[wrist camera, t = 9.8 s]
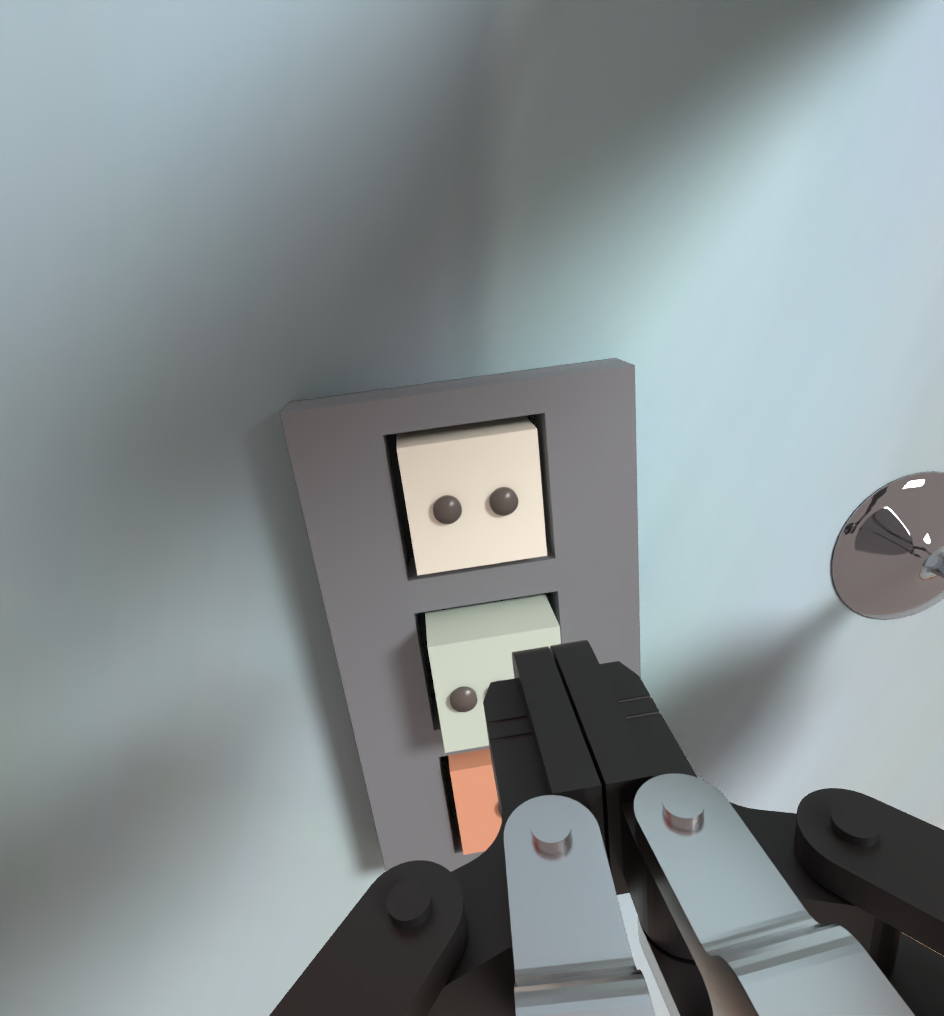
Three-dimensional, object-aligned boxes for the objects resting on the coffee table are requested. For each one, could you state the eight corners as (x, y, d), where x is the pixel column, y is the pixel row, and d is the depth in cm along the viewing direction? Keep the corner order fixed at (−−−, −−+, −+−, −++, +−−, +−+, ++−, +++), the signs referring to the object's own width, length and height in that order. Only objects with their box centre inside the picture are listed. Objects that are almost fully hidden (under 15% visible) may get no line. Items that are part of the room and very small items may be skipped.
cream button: (523, 413, 23) (538, 430, 21) (533, 530, 25) (548, 557, 22) (397, 431, 23) (396, 450, 20) (415, 548, 25) (417, 578, 22)
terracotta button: (549, 714, 28) (563, 755, 26) (556, 794, 30) (570, 839, 28) (445, 732, 28) (450, 775, 25) (458, 811, 30) (464, 858, 27)
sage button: (545, 594, 24) (561, 628, 22) (553, 693, 26) (568, 735, 24) (425, 613, 24) (427, 650, 22) (441, 711, 26) (445, 756, 23)
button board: (615, 358, 23) (634, 365, 21) (628, 804, 31) (643, 838, 29) (290, 401, 22) (280, 413, 20) (389, 846, 30) (389, 884, 28)
